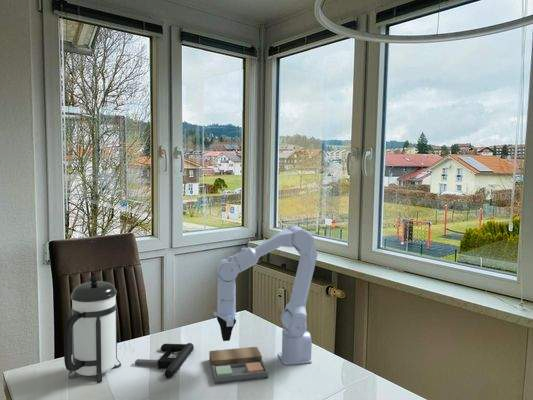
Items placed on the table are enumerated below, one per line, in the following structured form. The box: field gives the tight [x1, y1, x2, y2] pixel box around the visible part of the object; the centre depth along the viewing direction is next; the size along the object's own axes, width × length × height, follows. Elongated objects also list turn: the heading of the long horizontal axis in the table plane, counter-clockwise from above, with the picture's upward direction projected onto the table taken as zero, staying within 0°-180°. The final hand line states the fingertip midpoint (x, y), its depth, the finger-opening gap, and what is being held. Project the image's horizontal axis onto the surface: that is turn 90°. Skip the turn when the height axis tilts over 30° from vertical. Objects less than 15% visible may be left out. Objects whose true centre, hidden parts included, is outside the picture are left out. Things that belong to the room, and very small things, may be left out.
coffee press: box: [63, 275, 122, 383], centre depth 122 cm, size 17×16×30 cm
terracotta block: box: [246, 362, 263, 373], centre depth 125 cm, size 4×4×2 cm
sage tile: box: [215, 365, 232, 376], centre depth 123 cm, size 4×4×2 cm
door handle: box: [134, 342, 195, 379], centre depth 132 cm, size 3×20×16 cm
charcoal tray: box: [211, 359, 269, 385], centre depth 125 cm, size 16×8×2 cm, turn 104°
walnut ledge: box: [208, 346, 263, 370], centre depth 132 cm, size 16×7×3 cm, turn 104°
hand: (226, 340), depth 129 cm, fingers closed
